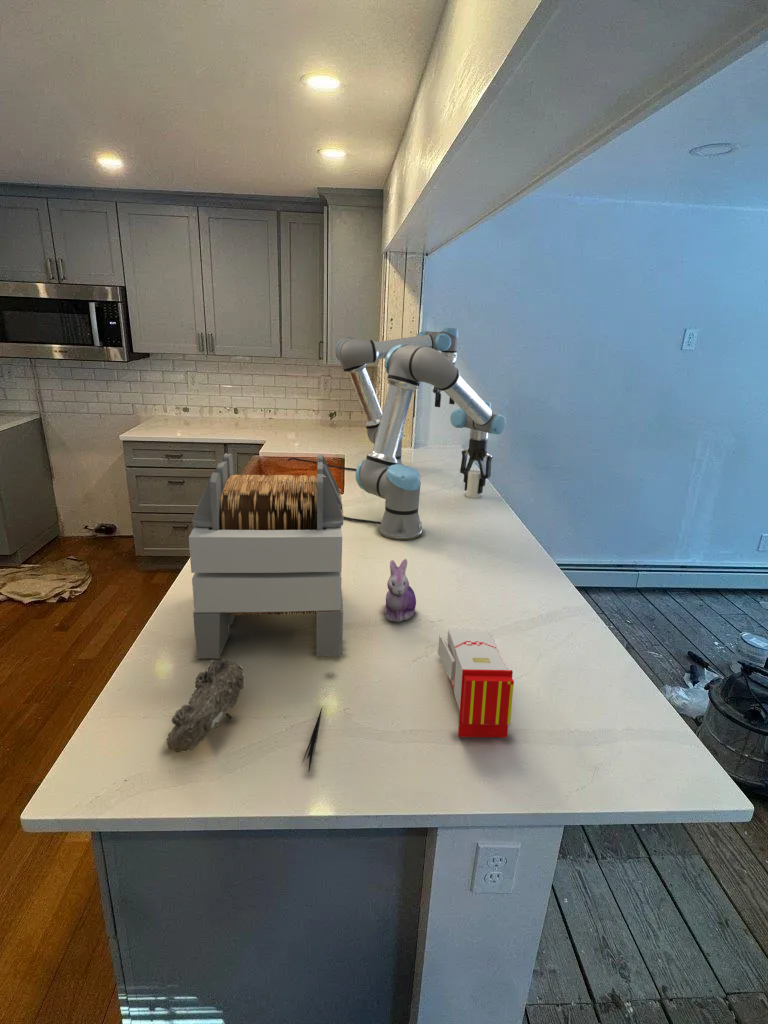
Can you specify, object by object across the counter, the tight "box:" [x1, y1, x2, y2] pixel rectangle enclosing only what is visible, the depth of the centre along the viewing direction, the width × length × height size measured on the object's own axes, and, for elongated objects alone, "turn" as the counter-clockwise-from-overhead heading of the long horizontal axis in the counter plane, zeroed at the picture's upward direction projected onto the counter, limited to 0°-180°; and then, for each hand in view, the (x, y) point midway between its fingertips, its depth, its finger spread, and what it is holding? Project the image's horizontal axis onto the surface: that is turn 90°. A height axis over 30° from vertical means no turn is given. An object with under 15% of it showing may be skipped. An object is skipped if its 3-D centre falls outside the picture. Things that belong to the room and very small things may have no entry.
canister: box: [465, 469, 481, 499], centre depth 243 cm, size 6×6×11 cm
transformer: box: [188, 452, 345, 660], centre depth 135 cm, size 34×33×41 cm
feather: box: [301, 673, 332, 771], centre depth 108 cm, size 2×28×2 cm
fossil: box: [166, 658, 245, 754], centre depth 106 cm, size 22×10×15 cm
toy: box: [437, 628, 515, 738], centre depth 117 cm, size 12×13×30 cm
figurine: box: [384, 558, 417, 623], centre depth 145 cm, size 9×10×15 cm
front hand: (473, 491), depth 244 cm, fingers closed on canister, 6 cm apart
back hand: (444, 405), depth 281 cm, fingers open, 13 cm apart
